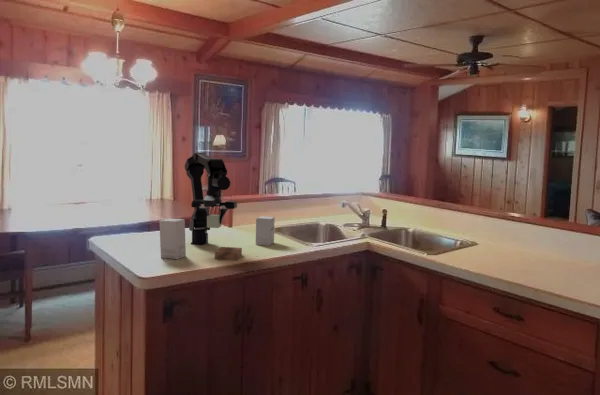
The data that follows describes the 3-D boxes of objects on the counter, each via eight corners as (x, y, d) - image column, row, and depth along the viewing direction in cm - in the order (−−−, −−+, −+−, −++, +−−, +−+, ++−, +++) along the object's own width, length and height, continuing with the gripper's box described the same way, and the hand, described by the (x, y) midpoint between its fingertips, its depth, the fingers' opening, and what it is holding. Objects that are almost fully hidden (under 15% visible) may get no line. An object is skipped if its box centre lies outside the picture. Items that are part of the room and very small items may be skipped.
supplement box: (270, 245, 215) (271, 219, 214) (255, 244, 217) (255, 218, 215) (274, 242, 222) (275, 216, 221) (259, 241, 224) (260, 215, 222)
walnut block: (214, 260, 188) (214, 251, 187) (220, 254, 197) (221, 246, 196) (236, 261, 187) (236, 252, 187) (241, 255, 196) (241, 247, 195)
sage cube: (206, 227, 198) (206, 216, 197) (210, 225, 203) (210, 214, 202) (218, 228, 197) (218, 216, 197) (221, 226, 202) (221, 214, 202)
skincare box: (186, 256, 191) (186, 219, 189) (176, 260, 185) (176, 221, 183) (168, 254, 194) (168, 217, 192) (159, 257, 187) (158, 219, 186)
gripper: (186, 188, 191) (186, 226, 193) (231, 190, 189) (230, 228, 191) (195, 186, 202) (195, 221, 204) (237, 188, 200) (237, 223, 202)
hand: (214, 223), depth 200 cm, fingers closed on sage cube, 5 cm apart
